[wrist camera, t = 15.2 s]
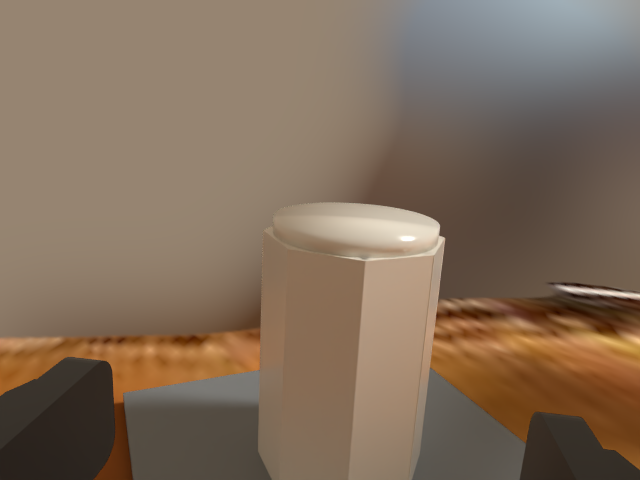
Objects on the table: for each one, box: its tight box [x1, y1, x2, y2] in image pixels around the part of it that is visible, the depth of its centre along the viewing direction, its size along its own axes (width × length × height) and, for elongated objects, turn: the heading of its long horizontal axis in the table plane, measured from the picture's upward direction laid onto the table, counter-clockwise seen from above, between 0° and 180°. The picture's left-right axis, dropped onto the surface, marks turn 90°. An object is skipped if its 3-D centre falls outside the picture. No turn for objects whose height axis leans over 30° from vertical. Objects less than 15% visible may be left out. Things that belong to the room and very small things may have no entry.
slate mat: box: [123, 368, 526, 480], centre depth 21 cm, size 16×15×1 cm
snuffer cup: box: [258, 203, 445, 480], centre depth 20 cm, size 6×6×10 cm
